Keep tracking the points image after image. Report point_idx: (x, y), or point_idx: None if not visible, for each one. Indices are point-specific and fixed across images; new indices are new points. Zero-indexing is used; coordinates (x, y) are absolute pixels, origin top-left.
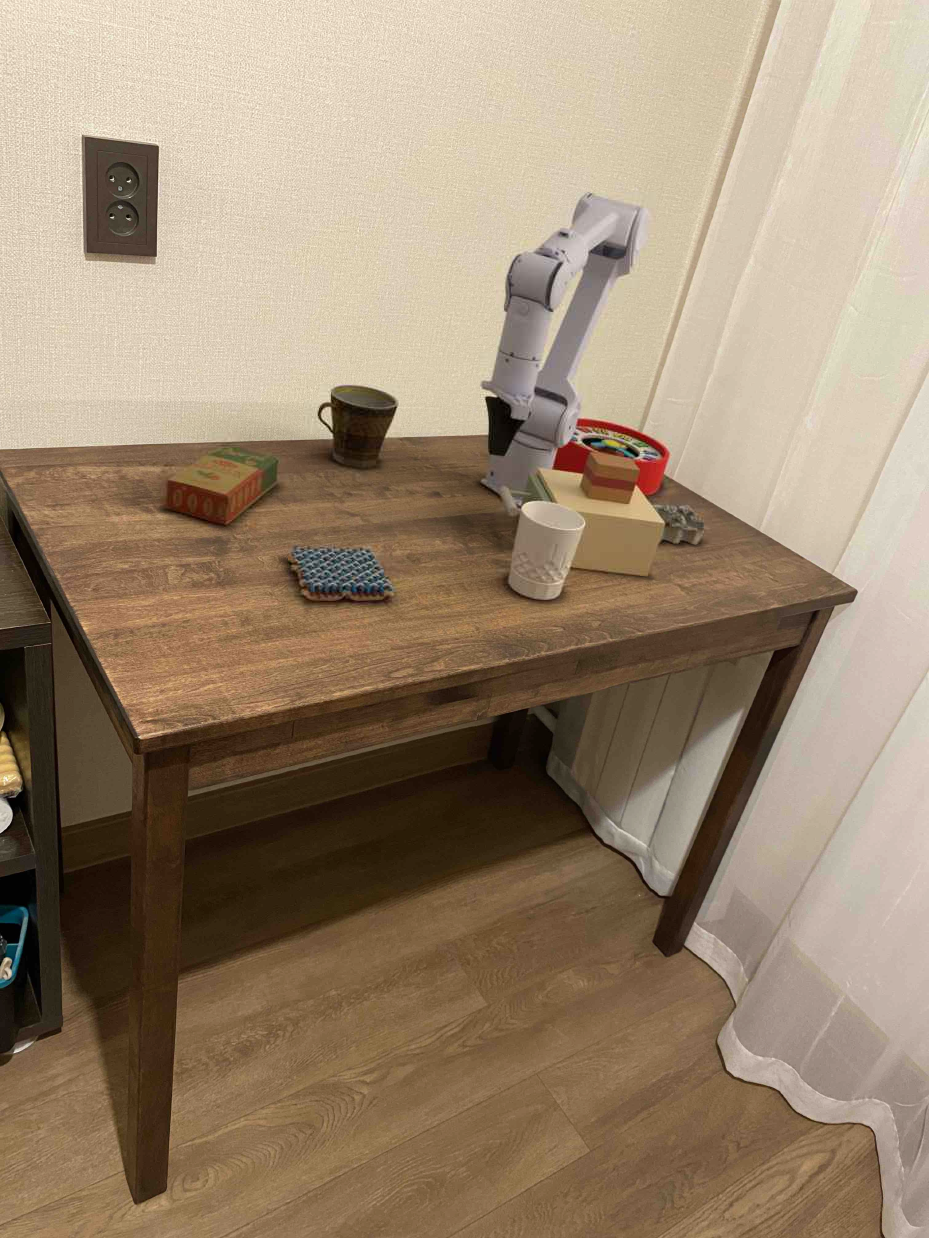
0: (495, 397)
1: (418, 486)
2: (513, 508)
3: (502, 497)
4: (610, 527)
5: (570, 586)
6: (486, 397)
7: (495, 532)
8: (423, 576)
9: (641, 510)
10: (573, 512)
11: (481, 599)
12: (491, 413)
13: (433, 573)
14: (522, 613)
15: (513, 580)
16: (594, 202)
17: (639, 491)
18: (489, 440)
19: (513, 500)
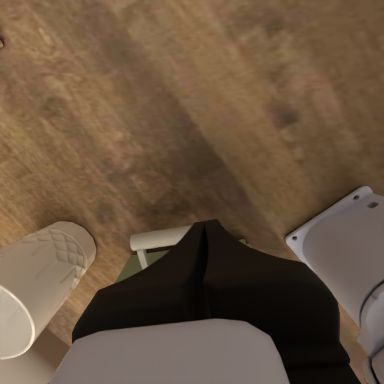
0: (328, 337)
1: (309, 84)
2: (130, 244)
3: (180, 228)
4: None
5: (95, 280)
6: (286, 284)
7: (189, 207)
8: (16, 125)
9: None
10: (24, 347)
11: (9, 193)
12: (111, 285)
13: (31, 136)
14: (9, 233)
15: (42, 228)
16: None
17: None
18: (197, 230)
19: (161, 245)
